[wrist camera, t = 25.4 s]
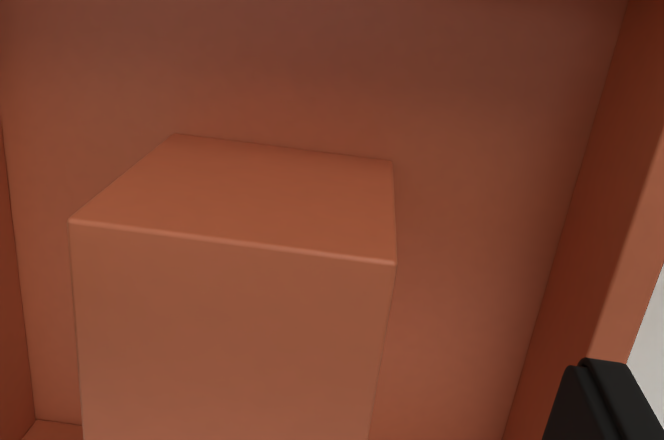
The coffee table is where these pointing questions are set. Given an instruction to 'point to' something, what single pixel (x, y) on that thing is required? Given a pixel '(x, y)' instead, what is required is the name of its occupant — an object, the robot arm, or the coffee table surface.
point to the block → (233, 294)
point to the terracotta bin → (370, 142)
